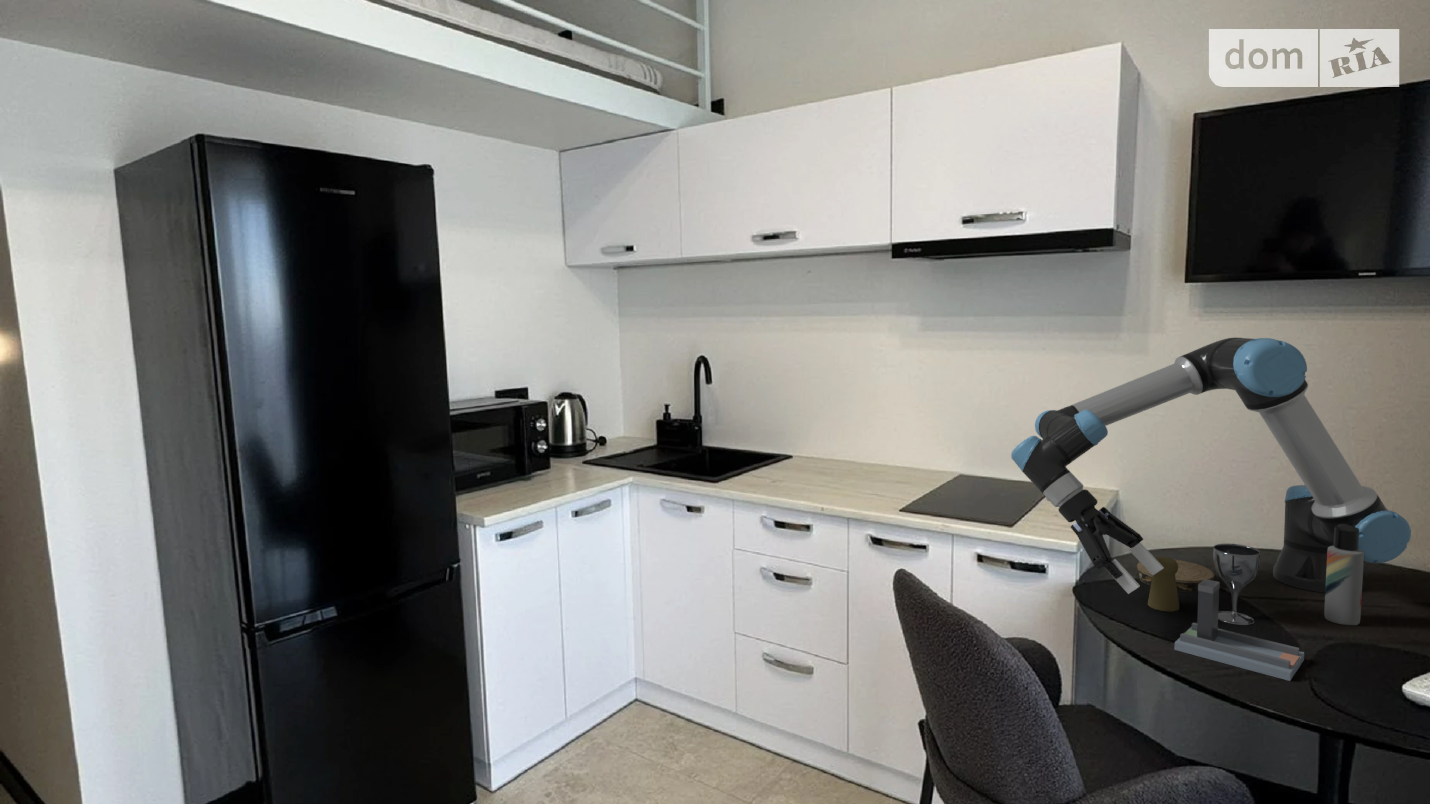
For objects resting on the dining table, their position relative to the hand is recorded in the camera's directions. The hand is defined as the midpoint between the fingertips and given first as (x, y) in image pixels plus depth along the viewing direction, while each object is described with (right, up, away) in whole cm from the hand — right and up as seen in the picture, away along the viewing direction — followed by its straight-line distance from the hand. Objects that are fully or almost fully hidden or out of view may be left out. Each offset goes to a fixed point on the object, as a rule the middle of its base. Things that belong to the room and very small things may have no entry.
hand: (1146, 580), depth 150 cm
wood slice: (+23, -7, +28) cm, 37 cm away
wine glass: (+22, -9, +5) cm, 24 cm away
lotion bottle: (+42, -9, +2) cm, 43 cm away
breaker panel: (+11, -11, -11) cm, 19 cm away
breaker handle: (+8, -9, -7) cm, 14 cm away
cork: (+11, -9, +13) cm, 20 cm away
